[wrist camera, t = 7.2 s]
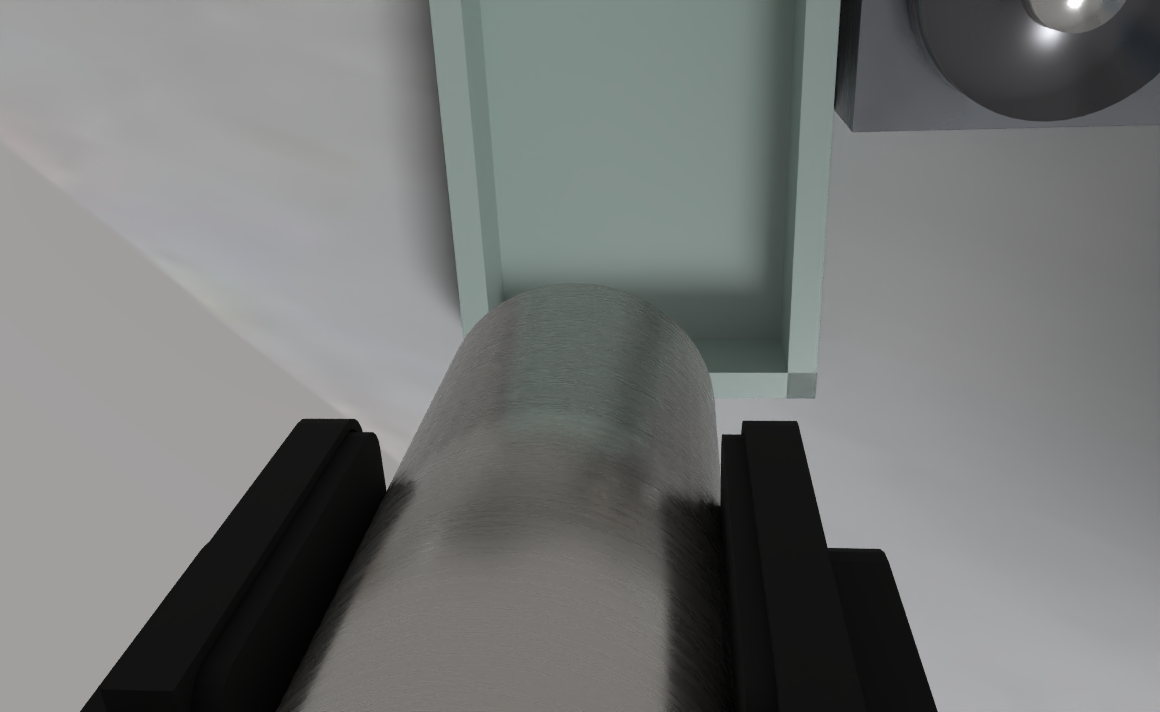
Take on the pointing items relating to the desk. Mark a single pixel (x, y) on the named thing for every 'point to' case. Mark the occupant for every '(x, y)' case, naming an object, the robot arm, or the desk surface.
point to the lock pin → (543, 530)
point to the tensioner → (998, 64)
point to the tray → (648, 165)
